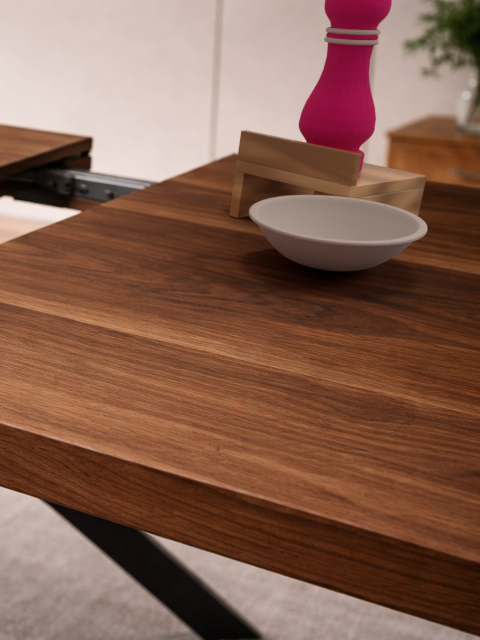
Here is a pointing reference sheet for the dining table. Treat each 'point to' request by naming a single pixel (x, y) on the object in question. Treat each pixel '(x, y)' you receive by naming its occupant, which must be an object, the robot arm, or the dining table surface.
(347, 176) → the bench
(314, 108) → the pepper mill
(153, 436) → the dining table surface
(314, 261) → the dish
